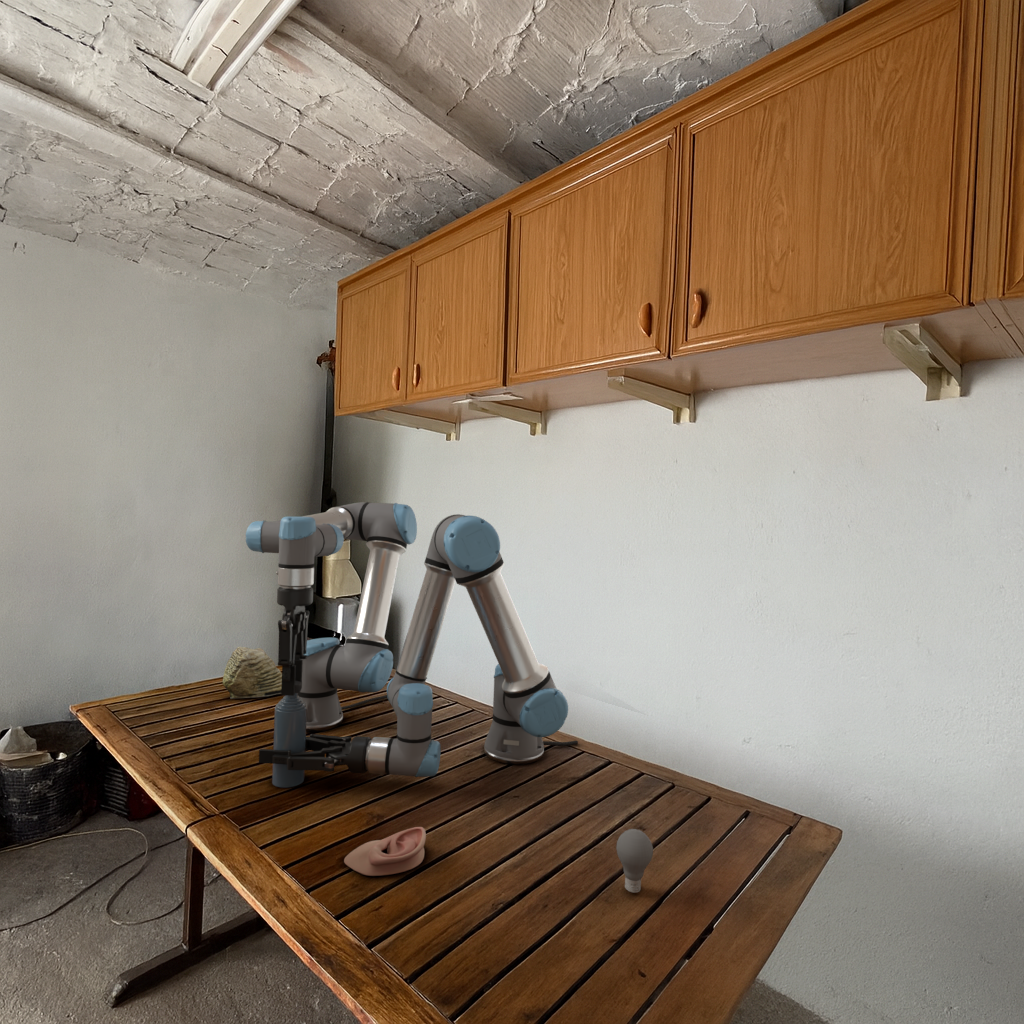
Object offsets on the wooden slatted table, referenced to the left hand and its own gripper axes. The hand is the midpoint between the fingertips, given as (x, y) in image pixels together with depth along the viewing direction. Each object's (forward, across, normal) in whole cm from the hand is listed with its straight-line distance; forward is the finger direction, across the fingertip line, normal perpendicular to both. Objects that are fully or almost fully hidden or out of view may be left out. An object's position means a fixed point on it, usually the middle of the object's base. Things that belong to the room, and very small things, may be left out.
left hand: (291, 691), depth 140 cm
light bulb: (+20, +35, +70) cm, 81 cm away
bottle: (+20, 0, 0) cm, 20 cm away
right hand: (+13, 0, -5) cm, 14 cm away
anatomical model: (+20, +29, +27) cm, 44 cm away
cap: (-2, 0, 0) cm, 2 cm away
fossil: (+20, -58, -31) cm, 68 cm away
